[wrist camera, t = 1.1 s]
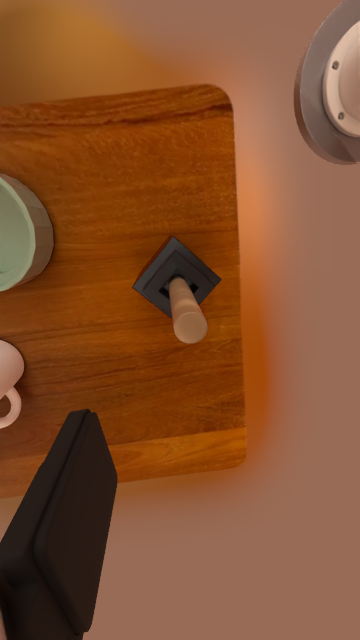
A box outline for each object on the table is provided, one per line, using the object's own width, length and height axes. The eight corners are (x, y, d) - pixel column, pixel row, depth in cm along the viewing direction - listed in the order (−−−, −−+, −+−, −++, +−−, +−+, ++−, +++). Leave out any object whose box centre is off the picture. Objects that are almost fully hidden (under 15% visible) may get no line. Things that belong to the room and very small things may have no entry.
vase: (170, 234, 36) (174, 236, 24) (206, 267, 38) (228, 284, 26) (139, 273, 38) (128, 293, 25) (175, 303, 40) (182, 335, 27)
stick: (176, 270, 28) (189, 305, 15) (190, 282, 29) (214, 326, 15) (164, 284, 28) (166, 330, 15) (178, 296, 29) (192, 350, 16)
